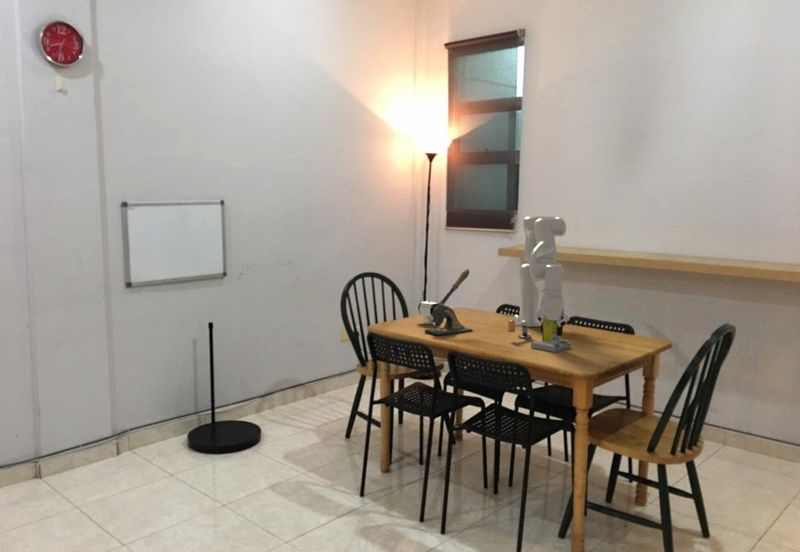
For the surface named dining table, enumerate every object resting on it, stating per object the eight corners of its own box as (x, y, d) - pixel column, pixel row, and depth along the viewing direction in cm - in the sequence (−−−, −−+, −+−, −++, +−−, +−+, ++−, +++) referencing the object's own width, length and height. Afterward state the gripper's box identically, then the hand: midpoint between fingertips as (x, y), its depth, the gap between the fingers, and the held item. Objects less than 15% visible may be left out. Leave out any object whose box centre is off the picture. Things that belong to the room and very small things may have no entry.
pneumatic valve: (423, 321, 342) (424, 298, 340) (440, 324, 333) (440, 301, 332) (416, 322, 338) (416, 299, 337) (432, 326, 330) (432, 302, 328)
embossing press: (423, 332, 314) (424, 270, 310) (461, 327, 327) (463, 268, 323) (436, 336, 304) (437, 272, 301) (475, 331, 317) (477, 270, 314)
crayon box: (559, 340, 285) (560, 314, 284) (560, 342, 282) (561, 315, 281) (541, 340, 285) (543, 313, 284) (543, 341, 282) (544, 315, 281)
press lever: (505, 331, 297) (505, 320, 296) (523, 327, 307) (524, 316, 307) (513, 332, 294) (514, 321, 293) (531, 328, 304) (532, 317, 304)
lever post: (515, 337, 305) (516, 325, 304) (522, 335, 309) (523, 324, 308) (526, 339, 301) (527, 327, 300) (533, 337, 305) (534, 325, 304)
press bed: (530, 347, 283) (531, 341, 283) (546, 343, 293) (547, 336, 292) (555, 352, 275) (555, 345, 275) (571, 347, 284) (571, 341, 284)
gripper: (530, 292, 285) (529, 332, 287) (566, 296, 273) (564, 338, 275) (540, 290, 290) (538, 329, 292) (575, 294, 278) (573, 336, 280)
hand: (551, 333), depth 283 cm, fingers closed on crayon box, 7 cm apart
